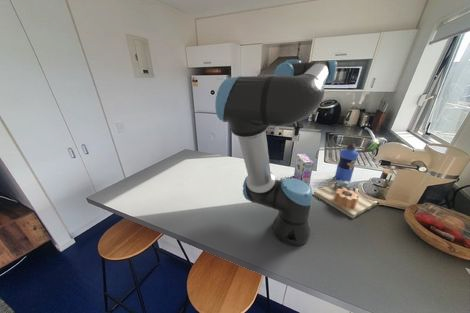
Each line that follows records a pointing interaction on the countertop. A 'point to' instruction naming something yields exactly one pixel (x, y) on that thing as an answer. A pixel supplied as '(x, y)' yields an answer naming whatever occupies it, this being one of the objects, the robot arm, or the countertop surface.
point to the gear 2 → (346, 198)
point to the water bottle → (346, 163)
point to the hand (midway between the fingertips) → (284, 137)
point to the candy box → (303, 168)
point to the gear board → (361, 206)
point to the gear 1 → (344, 185)
